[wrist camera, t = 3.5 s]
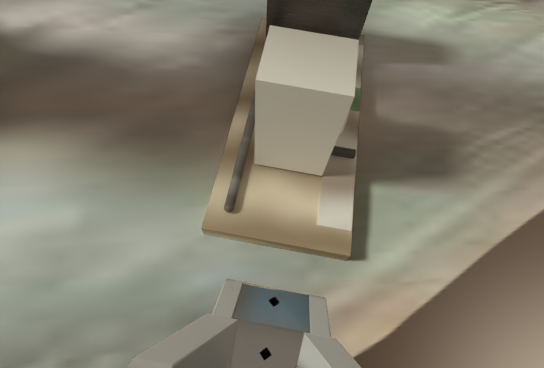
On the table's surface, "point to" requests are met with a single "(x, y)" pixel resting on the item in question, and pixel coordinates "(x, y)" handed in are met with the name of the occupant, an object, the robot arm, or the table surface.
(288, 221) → the board
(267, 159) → the block
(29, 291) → the table surface
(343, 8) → the dark grey slab
